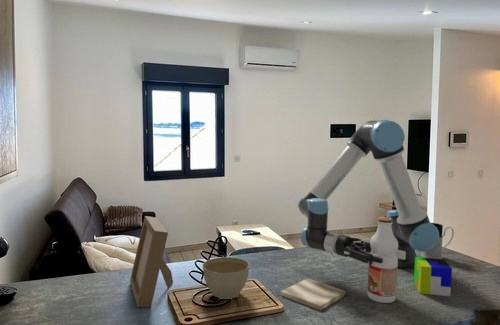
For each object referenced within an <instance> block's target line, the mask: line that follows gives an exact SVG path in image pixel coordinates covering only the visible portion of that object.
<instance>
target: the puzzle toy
mask: <svg viewBox="0 0 500 325" xmlns="http://www.w3.org/2000/svg"><path fill="white" fill-rule="evenodd" d="M452 273H453V268H452V267H451V266H450V265H449V264H448V262H447V261H446V260H445V259H443V258H442V259H434V258H424V257H422V256H421V257H420V256H419V257H418V256H417V257H415V267H414V272H413V274H414V275H413V283H414V285H415V288H416V289H417V290H418V292H419V294H423V295H433V296H445V297H451V289H452V276H453V275H452Z"/></svg>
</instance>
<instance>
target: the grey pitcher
mask: <svg viewBox="0 0 500 325" xmlns="http://www.w3.org/2000/svg"><path fill="white" fill-rule="evenodd" d="M430 223H431V224H433V225H434V226H435V227H436V228H437V229H438V231H439V239H438V242H437V243H436V245H435V246H434V247H433V248H432V249H430V250H428V251H422V253H421V258H434V259H443V255H442V252H443V250H444V249H445V248H446V247H447V246H448V245H450V244H451V242H452V241H453V238H454V234H455V233H454V228H452V227H450V226H447V227H446V228H444V227H443V226H444V225H442V224H440V223H436V222H435V223H434V222H430ZM443 228H444V230H443ZM448 229H451V236H450V240H449V241H448V242H447V243H446V244H445V245H444V246H443V237H445V236H446V231H447V230H448Z"/></svg>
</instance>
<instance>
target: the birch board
mask: <svg viewBox="0 0 500 325" xmlns="http://www.w3.org/2000/svg"><path fill="white" fill-rule="evenodd" d="M280 296H281V297H285V298H286V299H289V300H292V301H295V302H297V303H299V304H301V305H305V306H308V307H309V308H313V309H315V310H317V311H320V312H321V311H323V310H324V309H325V308H327V307H328V306H330V305H332V304H334V303H335V302H337V301H338V300H340V299H341V298H343V297H344V296H346V290H344V289H341V288H337V287H334V286H331V285H328V284H325V283H322V282H320V281H317V280H315V279H311V278H304V279H303V280H301V281H300V282H296V283H295V284H293V285H291V286H289V287H286V288H285V289H283V290H281V291H280Z"/></svg>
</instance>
